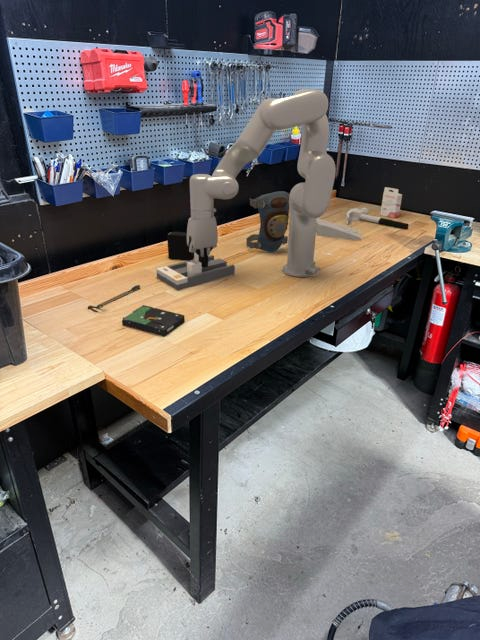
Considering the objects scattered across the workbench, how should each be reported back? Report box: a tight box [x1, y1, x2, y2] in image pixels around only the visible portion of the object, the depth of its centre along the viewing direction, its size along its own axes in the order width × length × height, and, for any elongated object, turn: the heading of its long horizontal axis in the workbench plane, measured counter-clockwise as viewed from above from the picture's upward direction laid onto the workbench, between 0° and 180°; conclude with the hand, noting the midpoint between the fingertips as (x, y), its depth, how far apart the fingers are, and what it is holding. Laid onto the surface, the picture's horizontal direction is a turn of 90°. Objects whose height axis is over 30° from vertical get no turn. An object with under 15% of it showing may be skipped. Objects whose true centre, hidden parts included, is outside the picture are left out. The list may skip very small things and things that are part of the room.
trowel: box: [316, 217, 362, 242], centre depth 210 cm, size 28×16×5 cm, turn 45°
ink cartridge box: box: [380, 186, 403, 219], centre depth 238 cm, size 9×5×15 cm, turn 43°
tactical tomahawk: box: [87, 284, 141, 313], centre depth 145 cm, size 21×7×1 cm, turn 145°
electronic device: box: [166, 231, 194, 262], centre depth 177 cm, size 4×10×10 cm, turn 79°
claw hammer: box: [344, 207, 409, 231], centre depth 225 cm, size 5×22×30 cm
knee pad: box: [245, 190, 290, 253], centre depth 185 cm, size 18×20×25 cm
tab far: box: [193, 253, 199, 261], centre depth 166 cm, size 3×4×5 cm
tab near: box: [187, 259, 202, 276], centre depth 156 cm, size 3×4×5 cm
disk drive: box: [121, 304, 186, 338], centre depth 130 cm, size 10×3×15 cm
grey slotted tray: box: [156, 254, 236, 291], centre depth 162 cm, size 14×24×4 cm, turn 128°
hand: (203, 266), depth 158 cm, fingers closed
